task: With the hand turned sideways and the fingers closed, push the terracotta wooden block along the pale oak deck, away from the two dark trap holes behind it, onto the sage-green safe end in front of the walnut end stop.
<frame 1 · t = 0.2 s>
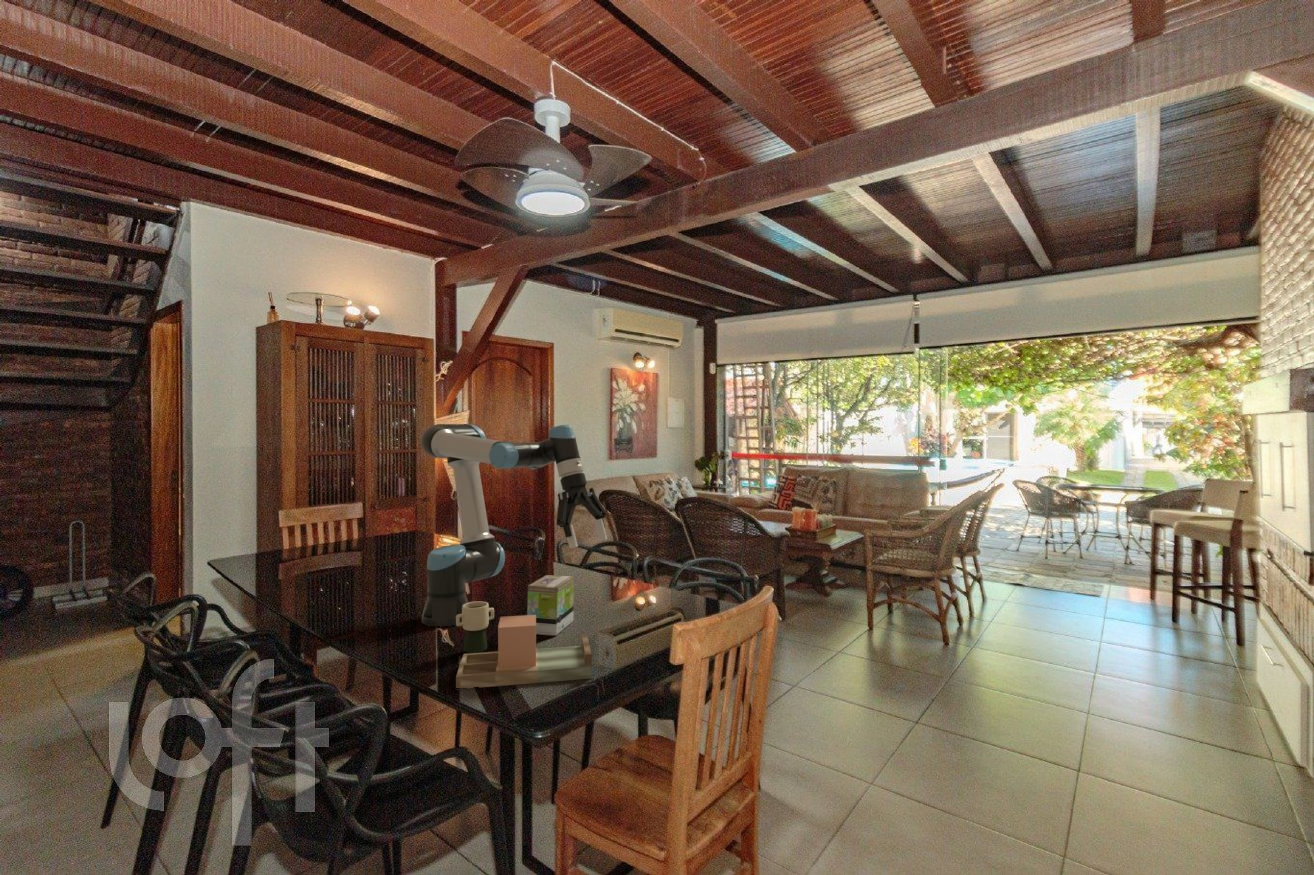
hand: (589, 544, 180), 27 cm above the table, tool tilted 20°, fingers open, 13 cm apart
terracotta block: (517, 660, 153), point 3 cm above the table, touching trap deck
character mug: (475, 652, 168), on the table
trap deck: (525, 671, 153), on the table
tea box: (551, 628, 189), on the table
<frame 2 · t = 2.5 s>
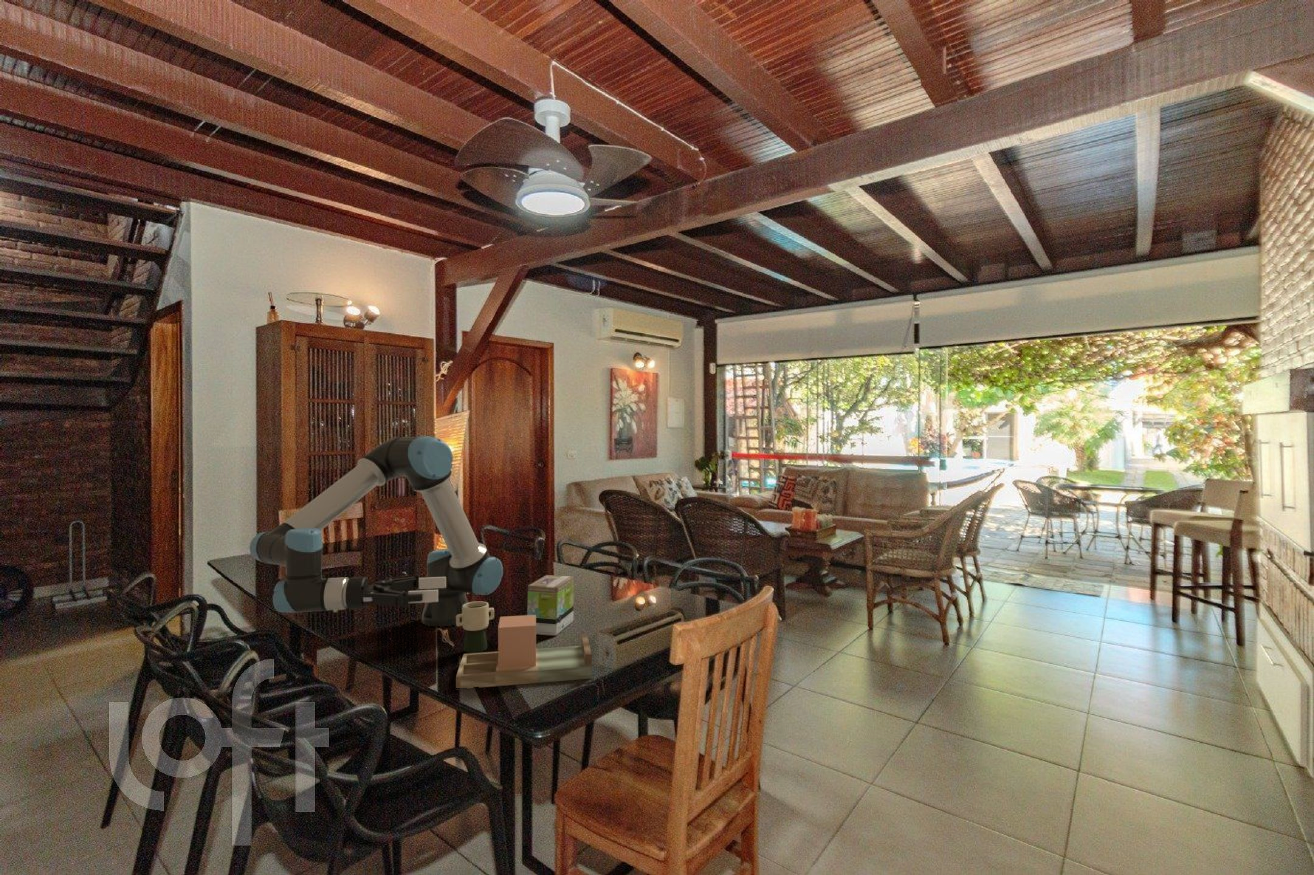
hand: (442, 588, 150), 22 cm above the table, tool horizontal, fingers open, 13 cm apart
nothing on the table moved.
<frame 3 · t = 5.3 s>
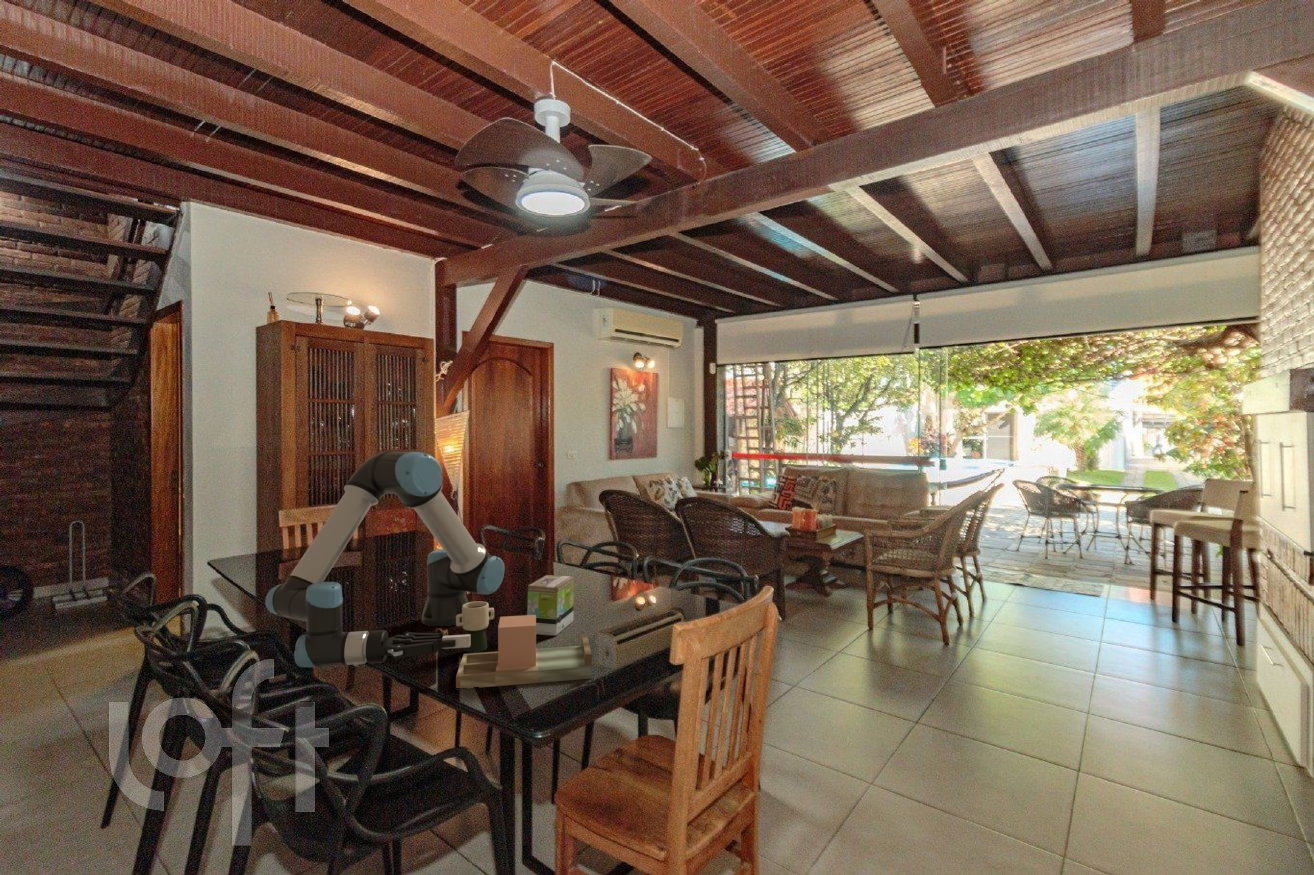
hand: (470, 640, 151), 9 cm above the table, tool horizontal, fingers closed
nothing on the table moved.
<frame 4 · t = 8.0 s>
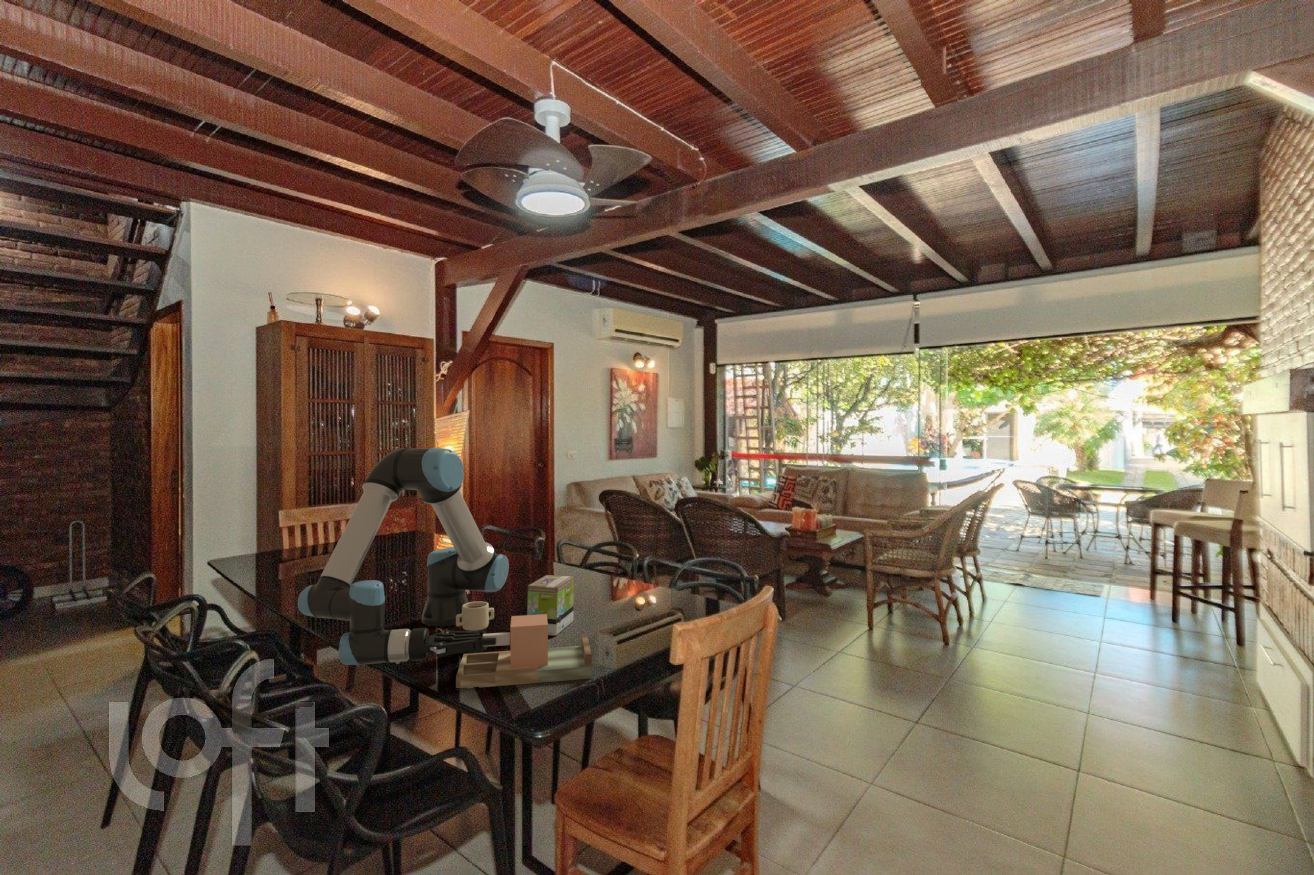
hand: (509, 638, 152), 9 cm above the table, tool horizontal, fingers closed
terracotta block: (529, 659, 154), point 3 cm above the table, touching gripper
everything else where it was.
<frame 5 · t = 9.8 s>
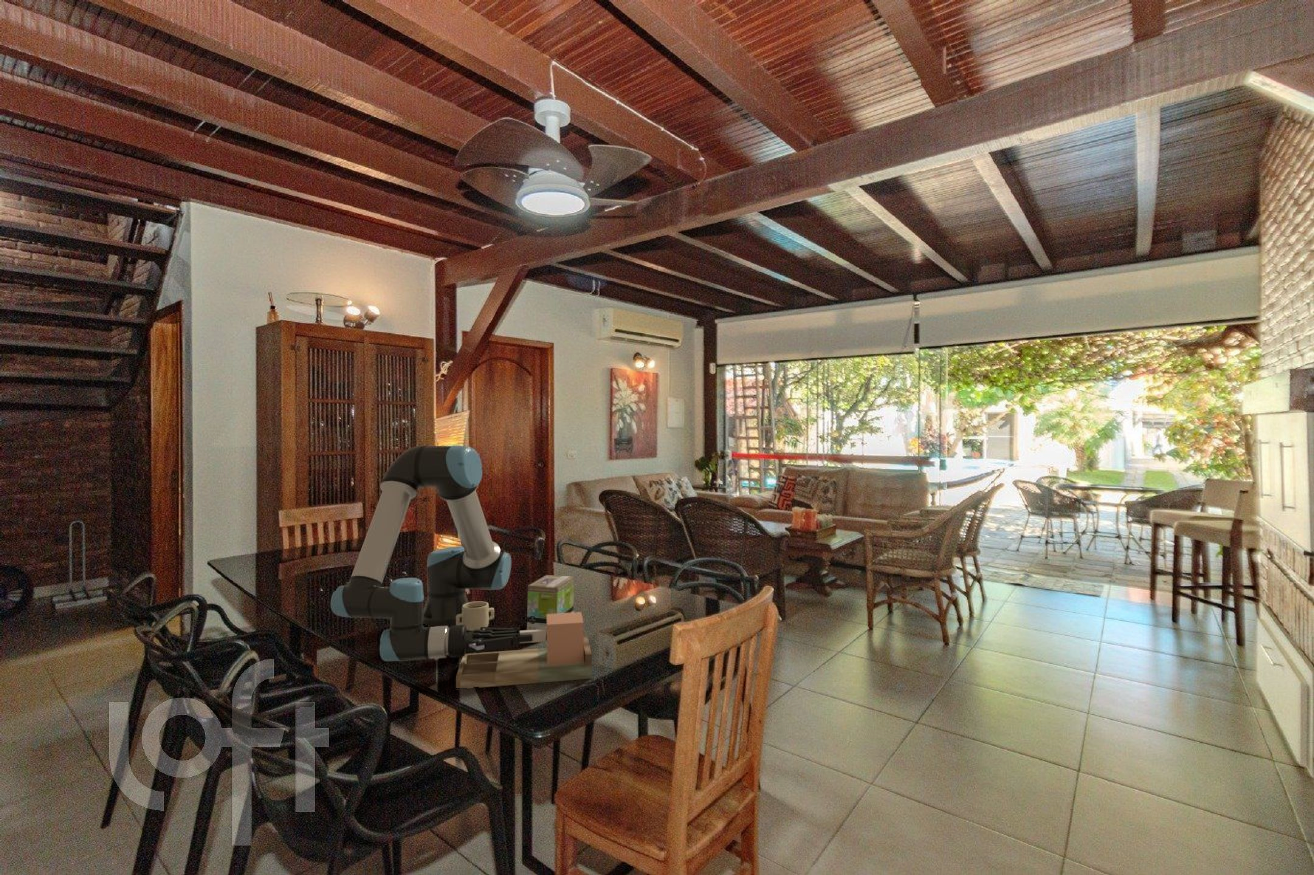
hand: (545, 635, 154), 9 cm above the table, tool horizontal, fingers closed
terracotta block: (564, 656, 155), point 3 cm above the table, touching gripper, trap deck
everything else where it was.
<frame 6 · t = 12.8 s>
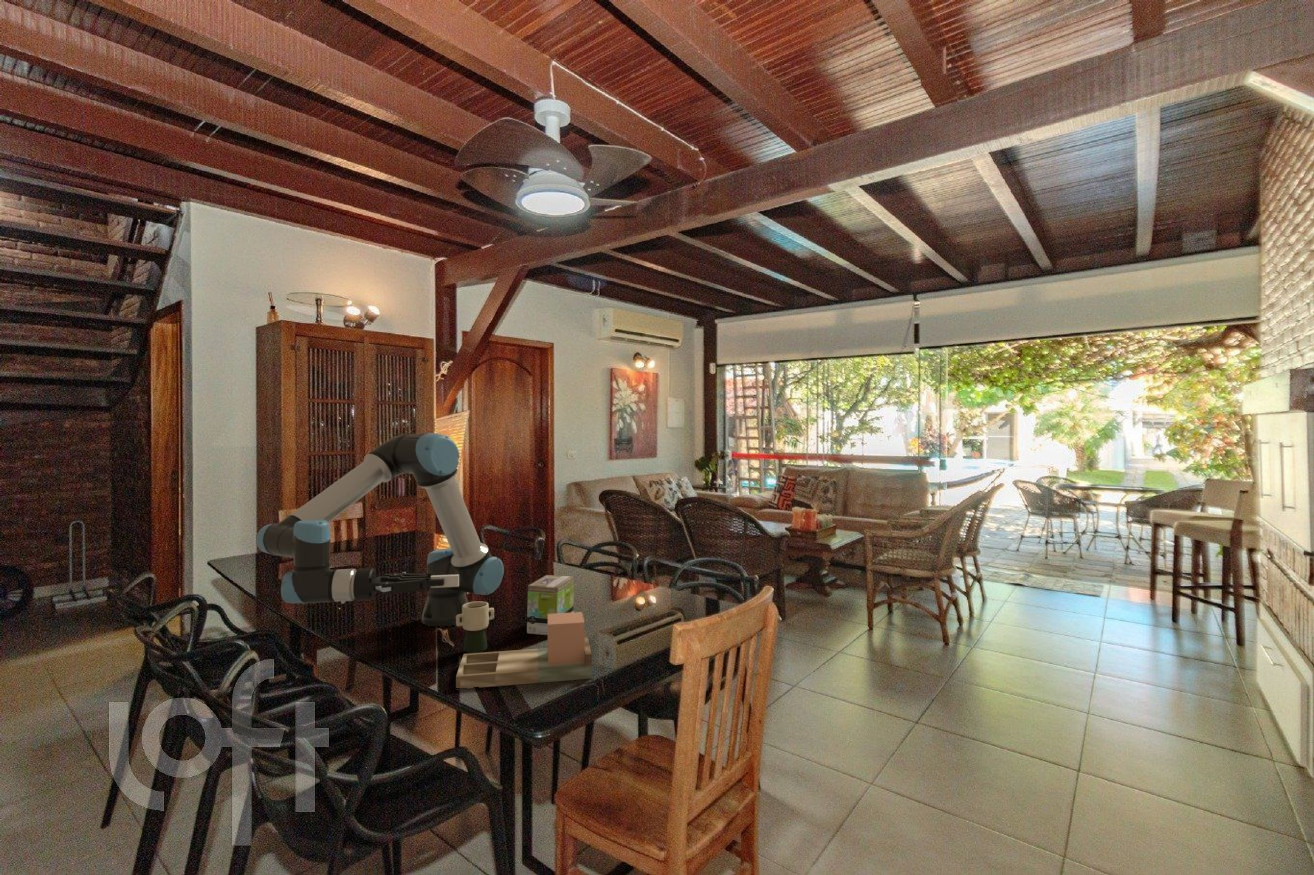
hand: (458, 580, 151), 24 cm above the table, tool horizontal, fingers closed
terracotta block: (565, 656, 155), point 3 cm above the table, touching trap deck
everything else where it was.
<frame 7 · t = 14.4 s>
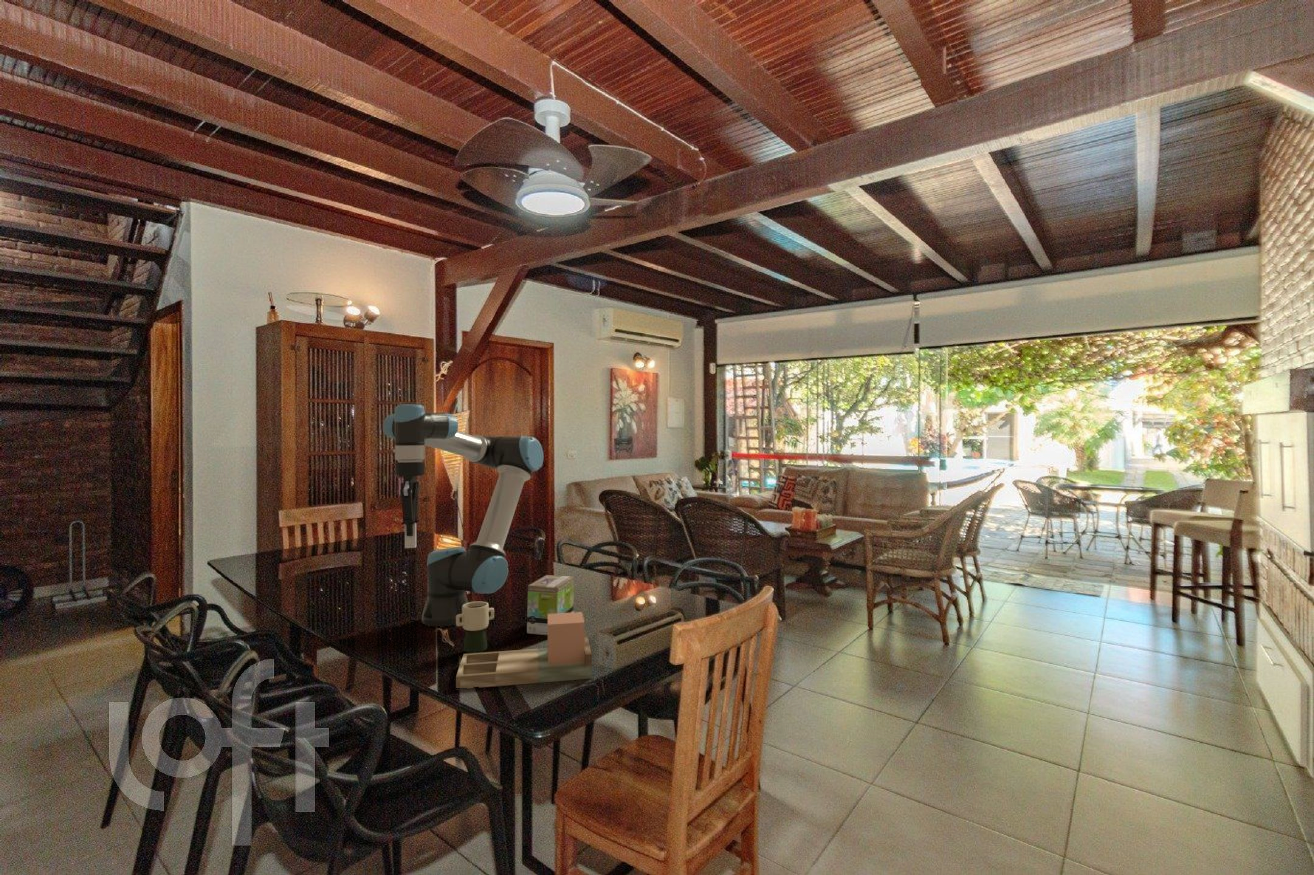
hand: (410, 547, 165), 29 cm above the table, tool pointing down, fingers closed
nothing on the table moved.
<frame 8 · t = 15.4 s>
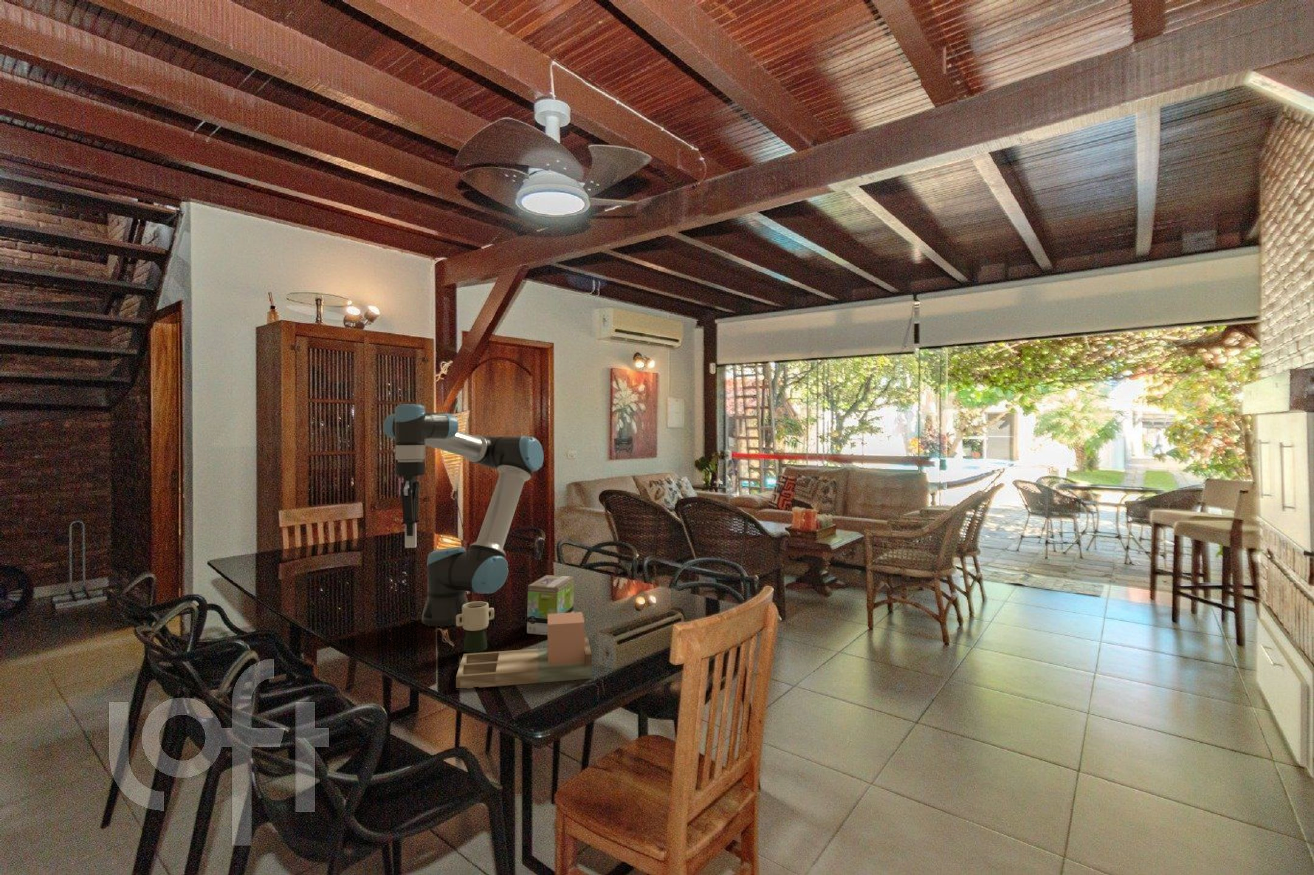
hand: (410, 547, 165), 29 cm above the table, tool pointing down, fingers closed
nothing on the table moved.
at the end: terracotta block inside the target area (1.3 cm from its centre), point 3.0 cm above the table; terracotta block tilted 0°; terracotta block moved 12.0 cm from its start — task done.
